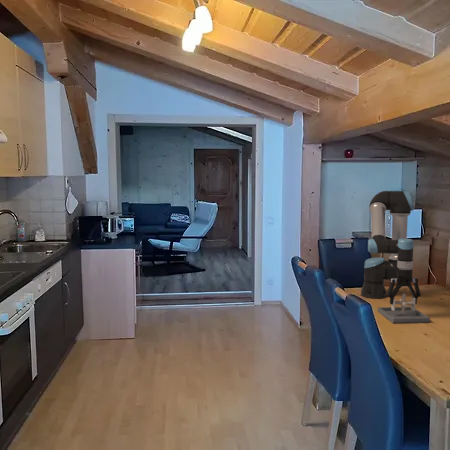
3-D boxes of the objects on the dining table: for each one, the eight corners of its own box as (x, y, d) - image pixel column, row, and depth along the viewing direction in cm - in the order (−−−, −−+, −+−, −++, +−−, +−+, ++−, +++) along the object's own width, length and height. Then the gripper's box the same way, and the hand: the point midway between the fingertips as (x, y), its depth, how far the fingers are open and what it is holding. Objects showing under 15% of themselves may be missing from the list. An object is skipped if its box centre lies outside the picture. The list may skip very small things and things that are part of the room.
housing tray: (377, 311, 253) (377, 307, 252) (411, 311, 254) (411, 306, 253) (393, 323, 233) (393, 318, 232) (429, 322, 234) (430, 317, 234)
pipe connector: (415, 315, 237) (415, 296, 236) (394, 314, 239) (395, 295, 238) (411, 310, 247) (412, 291, 246) (391, 309, 249) (392, 290, 248)
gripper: (386, 270, 236) (385, 312, 238) (429, 269, 237) (427, 311, 240) (380, 267, 243) (379, 308, 246) (422, 266, 245) (420, 307, 247)
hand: (403, 310), depth 243 cm, fingers closed on pipe connector, 10 cm apart
